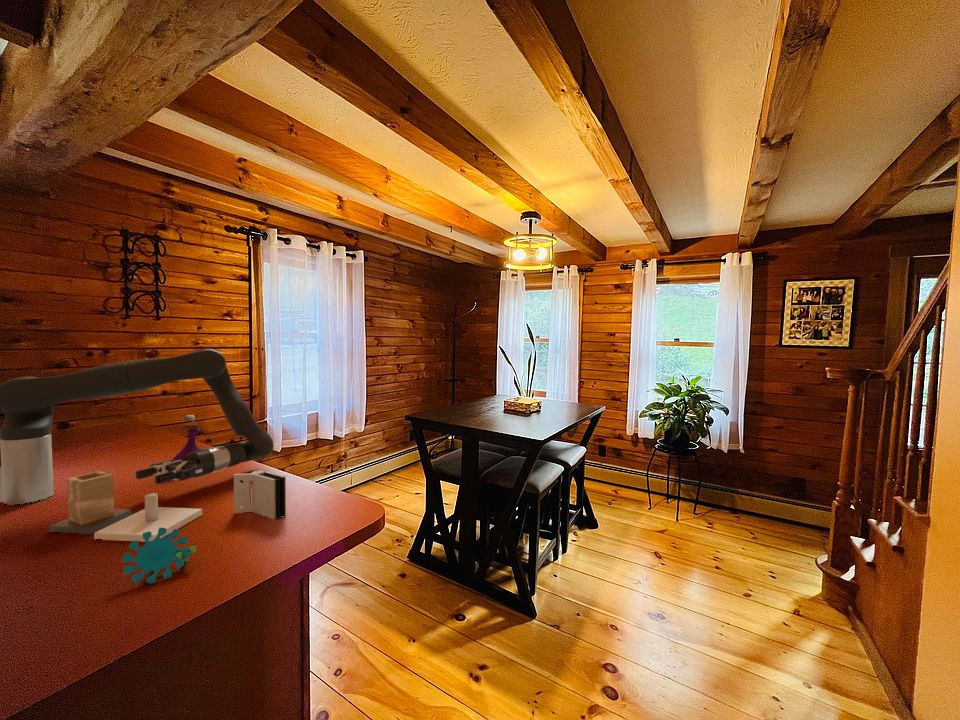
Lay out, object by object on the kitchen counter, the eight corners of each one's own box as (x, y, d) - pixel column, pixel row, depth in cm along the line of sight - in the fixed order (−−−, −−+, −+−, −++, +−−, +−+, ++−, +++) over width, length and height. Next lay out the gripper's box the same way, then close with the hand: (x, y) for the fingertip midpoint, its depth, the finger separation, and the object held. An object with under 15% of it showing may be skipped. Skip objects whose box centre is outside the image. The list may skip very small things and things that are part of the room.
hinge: (233, 513, 104) (232, 474, 103) (250, 505, 109) (249, 468, 109) (277, 520, 100) (277, 480, 100) (293, 512, 105) (293, 473, 105)
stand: (49, 532, 92) (47, 491, 92) (93, 513, 102) (92, 476, 102) (90, 534, 92) (89, 493, 91) (131, 515, 102) (130, 477, 101)
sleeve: (68, 520, 95) (67, 478, 95) (100, 510, 101) (99, 470, 100) (82, 525, 93) (80, 482, 93) (114, 514, 99) (113, 474, 98)
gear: (113, 585, 71) (130, 528, 77) (116, 596, 74) (131, 540, 80) (191, 576, 76) (200, 523, 83) (190, 586, 80) (199, 535, 86)
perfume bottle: (209, 465, 142) (208, 414, 141) (187, 471, 135) (186, 417, 134) (193, 462, 144) (192, 412, 143) (171, 469, 137) (170, 416, 136)
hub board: (94, 539, 90) (93, 506, 89) (149, 512, 104) (148, 483, 103) (154, 542, 89) (154, 508, 88) (202, 514, 103) (201, 485, 102)
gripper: (192, 445, 125) (129, 460, 110) (223, 451, 119) (162, 467, 104) (193, 470, 125) (130, 487, 110) (224, 476, 119) (162, 496, 104)
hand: (145, 477), depth 107 cm, fingers open, 8 cm apart
